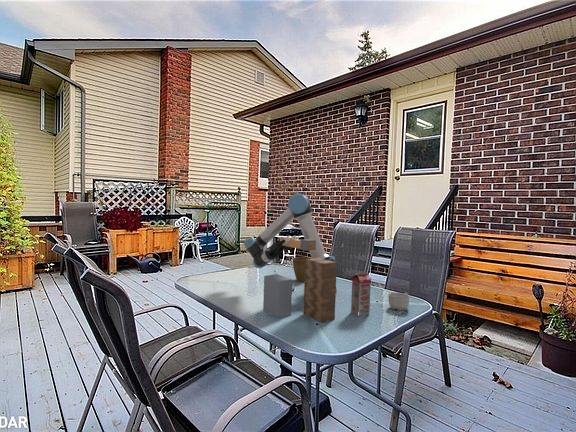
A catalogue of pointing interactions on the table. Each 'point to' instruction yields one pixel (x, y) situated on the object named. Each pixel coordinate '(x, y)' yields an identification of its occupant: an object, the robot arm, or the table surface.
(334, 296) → the walnut stand
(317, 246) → the robot arm
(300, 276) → the plant pot
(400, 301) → the teacup
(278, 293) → the grey stand
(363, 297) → the juice carton
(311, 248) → the brown block
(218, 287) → the table surface
